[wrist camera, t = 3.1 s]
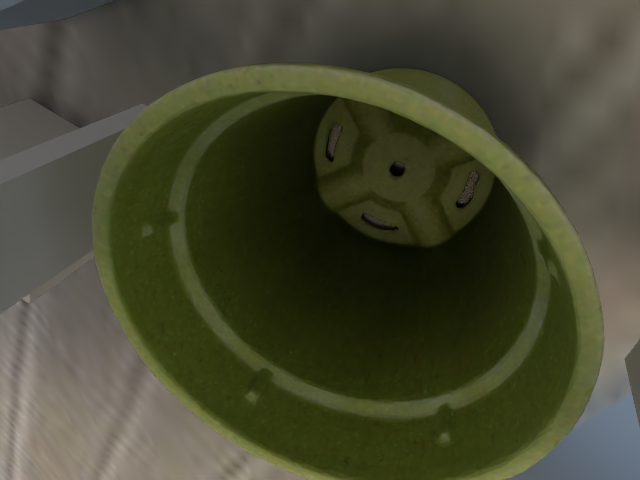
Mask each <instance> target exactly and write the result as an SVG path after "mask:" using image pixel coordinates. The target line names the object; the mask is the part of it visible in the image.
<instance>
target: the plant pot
mask: <svg viewBox="0 0 640 480" xmlns="http://www.w3.org/2000/svg"><path fill="white" fill-rule="evenodd" d="M336 125H341V126H342V131H341V134H340V136H339V139H338V141H337V144H336V148H335V151H334V160H333V161H332V162H331V161H329V159H328V158H327V157H326V147H327V142H328V136H329V134H330V132H331V129H332V128H333V127H335V126H336ZM394 162H400V163H402V164H403V165H404V167H405V171H404V174H403V175H401V176H398V177H397V176H394V175H392V173H391V172H390V167H391V165H392V164H393V163H394ZM472 171H476V173H477V174H478V175H479V180H478V182H477V184H476V187H475V188H474V192H473V193H474V195H473V198H472V199H471V201H470V202H469V203H468V204H467V205H466V206H465V207H463V208H458V207H457V205H456V202H457V200H458V199H459V198H460V196H461V194H462V192H463V190H464V189H465V186H466V184H467V181H468V179H469V174H470V172H472ZM363 213H367V214H370V215H371V216H373V217H375V218H377V219H379V220H381V221H383V222H385V223H389V224H390V225H391V226H397V227H398V230H397V229H395V230H384V229H380V228H376V227H374V226H372V225H370V224H368V223H367V222H365V220H364V219H363V218H362V217H361V216H362V214H363ZM92 235H93V247H94V256H95V262H96V266H97V270H98V274H99V278H100V281H101V284H102V287H103V289H104V291H105V294H106V296H107V299H108V302H109V304H110V307H111V309H112V311H113V313H114V315H115V317H116V319H117V320H118V322H119V324H120V326H121V328H122V330H123V332H124V334H125V335H126V337H127V338H128V340H129V341H130V343H131V344H132V346H133V347H134V349H135V350H136V351H137V353H138V354H139V356H140V358H141V359H142V360H143V362H144V363H145V364H146V365H147V367H148V368H149V369H150V371H151V372H152V373H153V374H154V375H155V377H156V378H157V379H158V380H159V381H160V382H161V383H162V384H163V385H164V386H165V387H166V389H167V390H168V391H169V392H170V393H171V394H173V395H174V396H175V397H176V398H177V399H178V400H179V401H180V402H181V403H182V404H183V405H184V406H185V407H186V408H187V409H189V410H190V411H191V412H192V413H193V414H195V415H196V416H197V417H198V418H200V419H201V420H202V421H203V422H204V423H206V424H207V425H208V426H209V427H211V428H212V429H213V430H215V431H216V432H218V433H220V434H221V435H222V436H223V437H225V438H226V439H228V440H230V441H232V442H234V443H235V444H237V445H238V446H239V447H241V448H242V449H244V450H246V451H247V452H249V453H251V454H253V455H254V456H256V457H259V458H261V459H263V460H265V461H267V462H269V463H271V464H273V465H275V466H278V467H280V468H283V469H284V470H286V471H289V472H293V473H296V474H298V475H300V476H302V477H304V478H307V479H310V480H504V479H506V478H510V477H512V476H514V475H516V474H519V473H521V472H523V471H525V470H526V469H528V468H529V467H531V466H533V465H534V464H536V463H537V462H538V461H540V460H541V459H542V458H544V457H545V456H546V455H547V454H548V453H549V452H550V451H552V450H553V449H554V448H555V446H556V445H557V444H558V443H559V441H560V440H562V439H563V438H564V437H565V436H566V435H568V433H569V432H570V431H571V430H572V429H573V427H574V426H575V424H576V423H577V421H578V420H579V418H580V416H581V415H582V413H583V412H584V410H585V407H586V406H587V404H588V402H589V400H590V397H591V394H592V392H593V389H594V387H595V384H596V382H597V379H598V376H599V371H600V366H601V362H602V357H603V349H604V324H603V315H602V307H601V302H600V296H599V291H598V288H597V284H596V280H595V276H594V273H593V269H592V266H591V264H590V261H589V258H588V256H587V253H586V251H585V249H584V246H583V244H582V242H581V239H580V237H579V235H578V233H577V231H576V229H575V228H574V226H573V224H572V223H571V221H570V219H569V217H568V216H567V214H566V212H565V211H564V209H563V208H562V206H561V205H560V203H559V202H558V200H557V199H556V197H555V196H554V195H553V193H552V192H551V191H550V190H549V188H548V187H547V186H546V184H545V183H544V182H543V181H542V179H541V178H540V177H539V176H538V175H537V174H536V173H535V171H534V170H533V169H532V168H531V167H530V166H529V165H527V164H526V163H525V162H524V161H523V160H522V159H521V158H520V157H519V156H518V155H517V154H516V153H515V152H514V151H513V150H512V149H511V148H510V147H509V146H508V145H507V144H505V143H504V142H503V141H502V140H500V139H499V138H498V137H497V136H496V134H495V131H494V129H493V127H492V125H491V123H490V121H489V119H488V118H487V116H486V114H485V112H484V111H483V109H482V108H481V107H480V106H479V104H478V103H477V102H476V101H475V100H474V99H473V98H472V97H471V96H470V95H469V94H468V93H467V92H466V91H464V90H463V89H462V88H460V87H459V86H458V85H456V84H454V83H453V82H451V81H450V80H448V79H446V78H444V77H441V76H439V75H436V74H434V73H430V72H426V71H423V70H417V69H407V68H392V69H385V70H379V71H375V72H371V73H368V72H363V71H359V70H354V69H349V68H344V67H338V66H330V65H321V64H313V63H265V64H256V65H248V66H241V67H236V68H230V69H225V70H221V71H217V72H214V73H211V74H208V75H206V76H203V77H200V78H197V79H194V80H192V81H190V82H188V83H185V84H183V85H181V86H179V87H177V88H175V89H174V90H172V91H170V92H168V93H167V94H165V95H163V96H162V97H160V98H159V99H157V100H156V101H154V102H153V103H151V104H150V105H148V106H147V107H146V108H144V109H143V110H142V111H141V112H140V113H139V114H138V115H137V116H136V117H135V118H134V119H133V120H132V121H131V122H130V123H129V124H128V125H127V127H126V128H125V129H124V130H123V132H122V133H121V134H120V135H119V137H118V138H117V140H116V141H115V143H114V144H113V146H112V148H111V150H110V152H109V154H108V156H107V159H106V161H105V163H104V166H103V168H102V170H101V173H100V177H99V181H98V184H97V187H96V191H95V195H94V202H93V207H92Z"/></svg>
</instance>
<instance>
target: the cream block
mask: <svg viewBox="0 0 640 480" xmlns="http://www.w3.org/2000/svg"><path fill="white" fill-rule="evenodd" d="M77 129H79V127H77V126H75V125H74V124H72V123H70V122H68V121H67V120H65V119H63V118H62V117H60V116H58V115H57V114H55V113H53V112H52V111H50V110H48V109H47V108H45V107H43V106H42V105H40V104H38V103H37V102H35V101H33V100H32V99H30V98H29V99H26V100H23V101H19V102H16V103H13V104H10V105H7V106H3V107H0V160H2V159H4V158H7V157H9V156H12V155H14V154H17V153H19V152H22V151H24V150H27V149H29V148H32V147H34V146H37V145H39V144H42V143H44V142H47V141H49V140H52V139H54V138H57V137H59V136H62V135H64V134H67V133H69V132H72V131H74V130H77ZM93 257H95V256H94V250H92V251H91V252H89V253H88V254H86V255H85V256H83V257H82V258H81V259H79V260H78V261H76V262H75V263H73V264H72V265H70V266H69V267H67V268H66V269H65V270H63V271H62V272H60V273H59V274H57V275H56V276H54V277H53V278H51V279H50V280H49V281H47V282H46V283H44V284H43V285H41V286H40V287H38V288H37V289H35V290H34V291H33V292H31V293H30V294H28V295H27V296H25V297H24V298H22V300H24V301H26V302H27V303H29V304H30V303H32V302H33V301H34V300H36V299H37V298H39V297H40V296H41V295H43V294H44V293H45V292H47V291H48V290H50V289H51V288H52V287H54V286H55V285H56V284H58V283H59V282H60V281H62V280H63V279H65V278H66V277H67V276H69V275H70V274H71V273H73V272H74V271H76V270H77V269H78V268H80V267H81V266H82V265H84V264H85V263H87V262H88V261H89V260H91V259H92V258H93Z"/></svg>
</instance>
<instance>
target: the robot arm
mask: <svg viewBox="0 0 640 480" xmlns="http://www.w3.org/2000/svg"><path fill="white" fill-rule="evenodd" d="M146 107H147V105H144V104H139V105H137V106H134V107H132V108H129V109H127V110H124V111H122V112H119V113H117V114H114V115H112V116H109V117H107V118H104V119H102V120H99V121H97V122H94V123H92V124H89V125H87V126H84V127H82V128H79V129H77V130H74V131H72V132H69V133H67V134H64V135H62V136H59V137H57V138H54V139H52V140H49V141H47V142H44V143H42V144H39V145H37V146H34V147H32V148H29V149H27V150H24V151H22V152H19V153H17V154H14V155H12V156H9V157H7V158H4V159H2V160H0V314H1V313H2V312H4V311H5V310H6V309H8V308H9V307H11V306H12V305H14V304H15V303H17V302H18V301H20V300H21V299H22V298H24V297H25V296H27V295H28V294H30V293H31V292H33V291H34V290H35V289H37V288H38V287H40V286H41V285H43V284H44V283H46V282H47V281H49V280H50V279H51V278H53V277H54V276H56V275H57V274H59V273H60V272H62V271H63V270H65V269H66V268H67V267H69V266H70V265H72V264H73V263H75V262H76V261H78V260H79V259H81V258H82V257H83V256H85V255H86V254H88V253H89V252H91V251H92V250H94V247H93V235H92V207H93V202H94V195H95V191H96V187H97V184H98V181H99V177H100V173H101V170H102V168H103V166H104V163H105V161H106V159H107V156H108V154H109V152H110V150H111V148H112V146H113V144H114V143H115V141H116V140H117V138H118V137H119V135H120V134H121V133H122V132H123V130H124V129H125V128H126V127H127V125H128V124H129V123H130V122H131V121H132V120H133V119H134V118H135V117H136V116H137V115H138V114H139V113H140V112H141V111H142V110H143V109H144V108H146ZM625 363H626V368H627V372H628V377H629V381H630V386H631V390H632V395H633V399H634V404H635V408H636V413H637V417H638V422H639V426H640V340H639V341H638V342H637V344H636V345H635V346H634V348H633V349H632V350H631V351H630V353H629V354H628V355H627V357H626V358H625Z"/></svg>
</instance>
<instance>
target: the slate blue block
mask: <svg viewBox="0 0 640 480" xmlns="http://www.w3.org/2000/svg"><path fill="white" fill-rule="evenodd" d="M112 1H114V0H0V30H2V29H8V28H14V27H20V26H26V25H33V24H39V23H45V22H51V21H57V20H64V19H67V18H70V17H73V16H75V15H78V14H80V13H83V12H86V11H88V10H91V9H93V8H96V7H99V6H101V5H104V4H106V3H109V2H112Z"/></svg>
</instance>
